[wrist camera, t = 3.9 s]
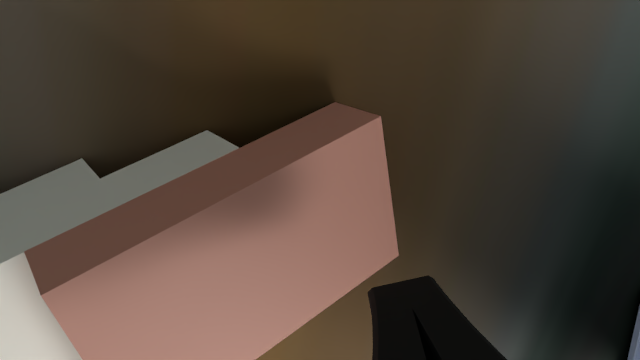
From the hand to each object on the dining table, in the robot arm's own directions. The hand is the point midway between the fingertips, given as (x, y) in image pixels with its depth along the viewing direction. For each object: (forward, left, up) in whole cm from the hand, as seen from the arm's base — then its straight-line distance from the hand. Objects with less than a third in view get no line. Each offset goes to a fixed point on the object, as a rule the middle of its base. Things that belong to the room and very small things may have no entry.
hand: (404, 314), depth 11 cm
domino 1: (0, 0, -6) cm, 6 cm away
